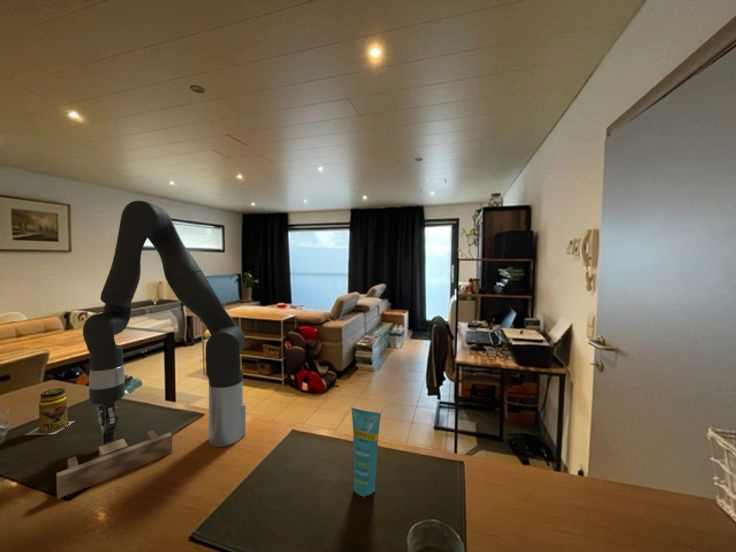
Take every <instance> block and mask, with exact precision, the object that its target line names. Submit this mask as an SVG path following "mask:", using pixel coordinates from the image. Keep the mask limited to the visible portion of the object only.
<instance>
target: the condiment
mask: <svg viewBox="0 0 736 552" xmlns="http://www.w3.org/2000/svg"><path fill="white" fill-rule="evenodd" d="M65 391H66V390H65V388H62V387H58V388H52V389H48V390H44V391H43V392H42V393H40V400H39V403H38V416H39V417H38V418H39V419H38V424H39V425H38V426H39V427H36V428H34V429H33V430H31V431H29V432H27V433H26V434H24V436H32V435H33V436H35V435H38V436H39V435H41V436H42V435H43V436H44V435H55V434H57V433H59V432H60V431H63V430H65V428H64V427H66V426H67V427H69V426H71V425H72V424H73V423H75V422H76V420H72V421H68V398H67V396H66V392H65ZM67 422H68V423H69V424H68V425H69V426H68V425H67ZM67 427H66V428H67Z"/></svg>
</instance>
